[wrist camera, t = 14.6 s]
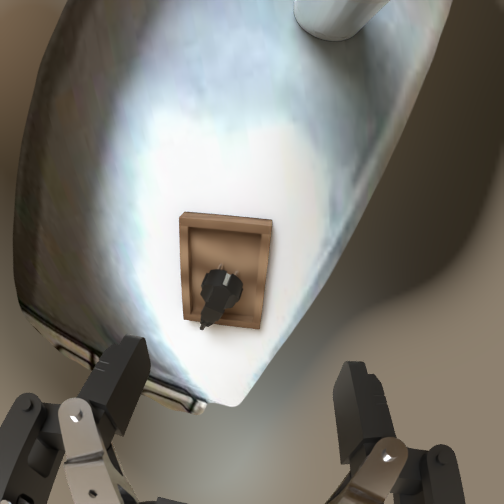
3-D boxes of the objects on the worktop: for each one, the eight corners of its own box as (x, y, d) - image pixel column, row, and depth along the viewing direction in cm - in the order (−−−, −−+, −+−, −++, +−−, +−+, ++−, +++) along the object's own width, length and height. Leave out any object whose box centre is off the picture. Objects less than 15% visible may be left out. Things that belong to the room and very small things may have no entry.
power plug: (183, 325, 44) (197, 293, 35) (199, 288, 49) (216, 248, 40) (216, 339, 45) (239, 310, 36) (229, 301, 50) (254, 265, 40)
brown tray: (184, 211, 40) (179, 217, 38) (272, 219, 40) (271, 226, 37) (187, 310, 48) (183, 319, 45) (260, 319, 47) (259, 329, 45)
